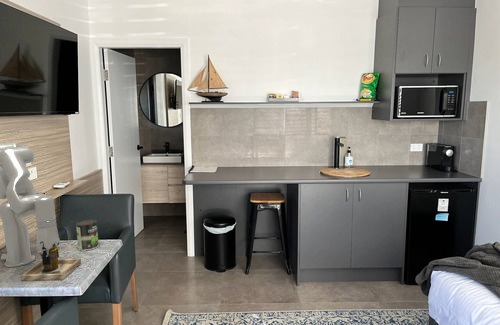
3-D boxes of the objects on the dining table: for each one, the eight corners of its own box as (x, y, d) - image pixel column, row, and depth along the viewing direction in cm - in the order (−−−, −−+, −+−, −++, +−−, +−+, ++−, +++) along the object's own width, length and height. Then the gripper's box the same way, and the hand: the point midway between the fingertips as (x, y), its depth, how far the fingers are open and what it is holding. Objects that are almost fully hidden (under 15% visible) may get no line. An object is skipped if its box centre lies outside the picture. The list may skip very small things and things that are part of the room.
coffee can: (103, 244, 190) (100, 219, 188) (89, 251, 180) (87, 225, 178) (87, 242, 193) (85, 218, 191) (73, 250, 183) (70, 224, 181)
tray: (21, 281, 150) (20, 275, 149) (43, 264, 166) (42, 259, 166) (62, 280, 150) (62, 274, 149) (81, 263, 166) (80, 258, 165)
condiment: (59, 263, 162) (56, 239, 160) (60, 270, 155) (57, 245, 153) (41, 267, 158) (38, 243, 157) (41, 275, 151) (38, 249, 149)
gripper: (49, 217, 163) (53, 253, 166) (25, 230, 146) (31, 270, 149) (65, 217, 163) (69, 253, 166) (43, 229, 146) (48, 269, 148)
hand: (51, 260), depth 157 cm, fingers closed on condiment, 6 cm apart
